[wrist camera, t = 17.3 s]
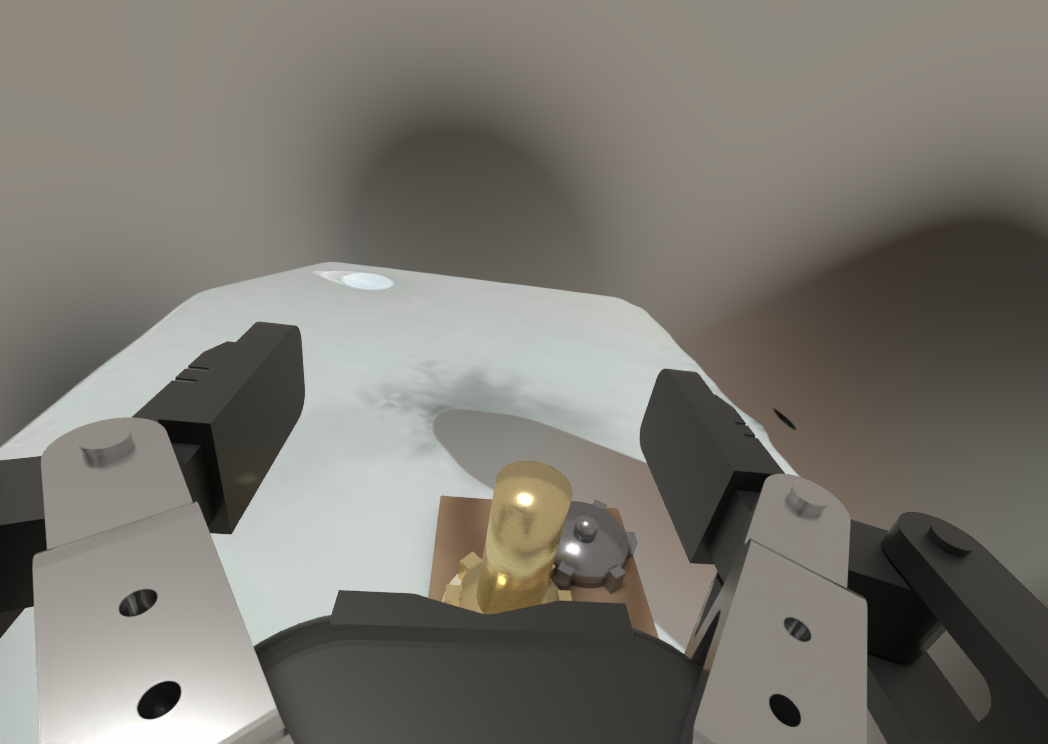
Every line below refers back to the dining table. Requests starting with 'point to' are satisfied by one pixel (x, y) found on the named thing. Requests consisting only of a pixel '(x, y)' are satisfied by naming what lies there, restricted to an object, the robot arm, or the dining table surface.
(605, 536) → the gear
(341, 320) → the dining table surface
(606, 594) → the gear board
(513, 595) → the cylinder
